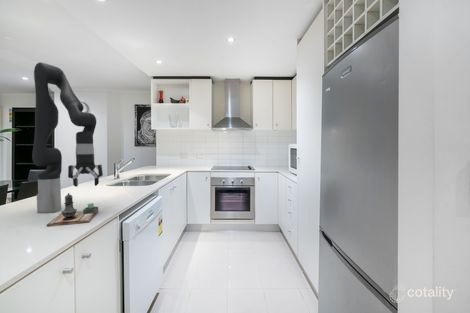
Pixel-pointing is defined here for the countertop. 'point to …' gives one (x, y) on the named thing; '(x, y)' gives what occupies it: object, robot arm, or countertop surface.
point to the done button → (91, 206)
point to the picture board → (80, 216)
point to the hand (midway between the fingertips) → (86, 185)
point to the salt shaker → (69, 208)
